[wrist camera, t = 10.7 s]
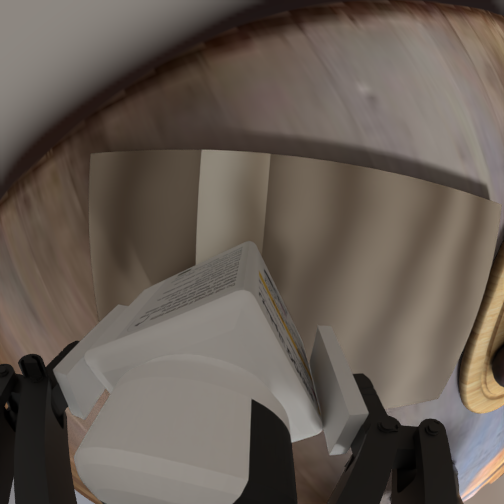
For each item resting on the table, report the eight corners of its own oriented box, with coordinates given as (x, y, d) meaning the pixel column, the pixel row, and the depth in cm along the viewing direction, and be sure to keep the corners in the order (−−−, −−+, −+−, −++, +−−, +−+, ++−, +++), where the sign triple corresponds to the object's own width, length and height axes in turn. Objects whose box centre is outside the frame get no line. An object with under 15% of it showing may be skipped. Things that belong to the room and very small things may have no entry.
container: (304, 343, 17) (348, 535, 4) (202, 379, 18) (160, 544, 5) (253, 237, 15) (234, 451, 3) (142, 289, 16) (8, 441, 4)
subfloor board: (490, 202, 16) (502, 204, 15) (432, 390, 21) (438, 399, 20) (101, 154, 16) (89, 153, 15) (121, 380, 22) (115, 391, 20)
